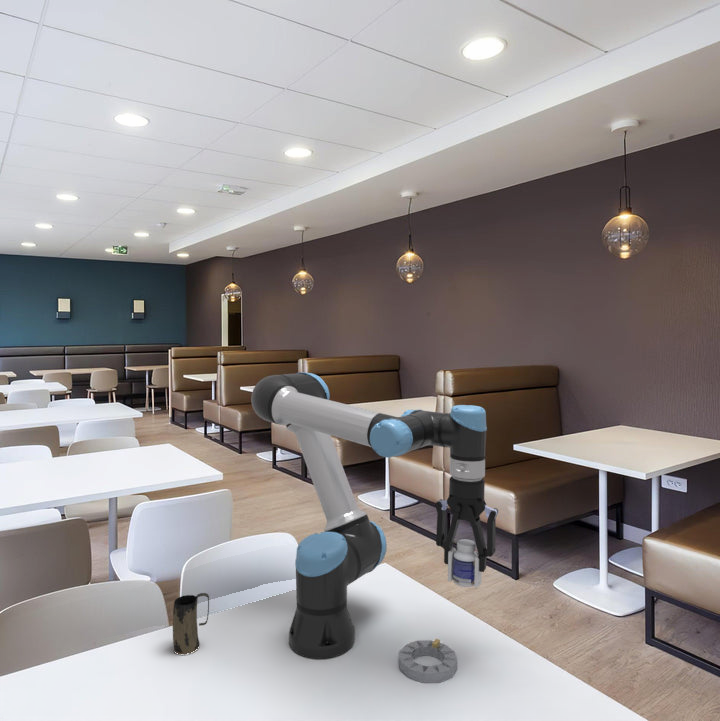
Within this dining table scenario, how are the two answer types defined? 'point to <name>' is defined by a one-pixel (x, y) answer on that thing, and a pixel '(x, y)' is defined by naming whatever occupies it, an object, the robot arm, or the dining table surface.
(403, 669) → the hub
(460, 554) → the pill bottle
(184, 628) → the mug
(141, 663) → the dining table surface
